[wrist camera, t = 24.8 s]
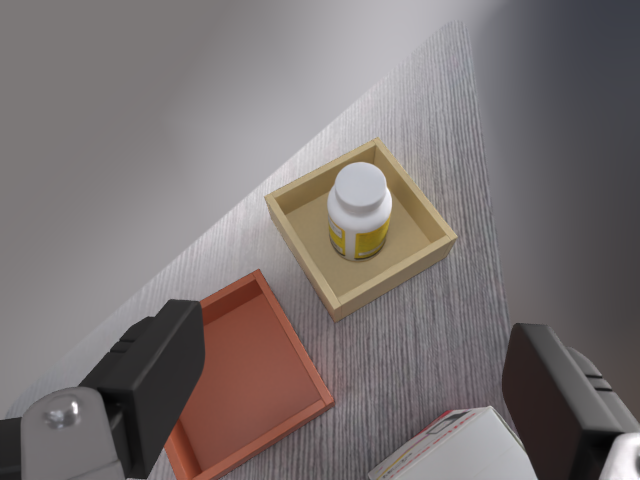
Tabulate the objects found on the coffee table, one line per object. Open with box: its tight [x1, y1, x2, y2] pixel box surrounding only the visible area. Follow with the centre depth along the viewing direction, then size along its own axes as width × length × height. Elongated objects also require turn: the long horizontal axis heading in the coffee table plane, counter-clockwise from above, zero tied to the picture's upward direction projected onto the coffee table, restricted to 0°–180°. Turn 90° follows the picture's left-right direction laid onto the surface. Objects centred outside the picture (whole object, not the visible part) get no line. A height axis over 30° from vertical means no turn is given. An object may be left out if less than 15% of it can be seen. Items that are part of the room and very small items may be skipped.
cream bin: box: [264, 137, 457, 323], centre depth 42 cm, size 12×12×5 cm
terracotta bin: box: [164, 269, 335, 480], centre depth 37 cm, size 12×12×5 cm
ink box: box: [368, 406, 538, 480], centre depth 30 cm, size 9×5×12 cm, turn 124°
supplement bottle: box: [327, 162, 392, 261], centre depth 39 cm, size 5×5×10 cm
